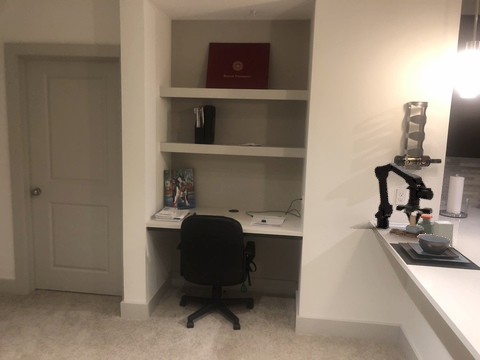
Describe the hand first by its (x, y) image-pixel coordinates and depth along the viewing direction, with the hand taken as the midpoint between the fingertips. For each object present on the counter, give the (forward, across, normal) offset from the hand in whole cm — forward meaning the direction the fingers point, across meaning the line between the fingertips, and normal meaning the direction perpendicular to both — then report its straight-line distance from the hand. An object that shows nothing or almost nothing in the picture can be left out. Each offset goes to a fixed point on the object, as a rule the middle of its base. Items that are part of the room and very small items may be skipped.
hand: (413, 223), depth 216 cm
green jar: (+7, +4, +12) cm, 14 cm away
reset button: (+3, +4, +12) cm, 13 cm away
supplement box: (+7, +19, -10) cm, 22 cm away
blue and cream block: (+4, 0, 0) cm, 4 cm away
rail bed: (+7, -3, 0) cm, 8 cm away
